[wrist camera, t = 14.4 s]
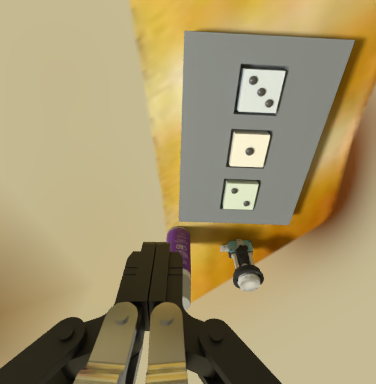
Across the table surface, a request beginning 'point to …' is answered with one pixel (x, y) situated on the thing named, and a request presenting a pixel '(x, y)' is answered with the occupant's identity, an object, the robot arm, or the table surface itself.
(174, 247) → the container
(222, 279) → the table surface
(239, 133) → the tile one pip
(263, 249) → the table surface
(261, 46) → the button board
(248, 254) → the push button
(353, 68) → the table surface
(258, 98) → the tile three pips
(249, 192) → the tile two pips
